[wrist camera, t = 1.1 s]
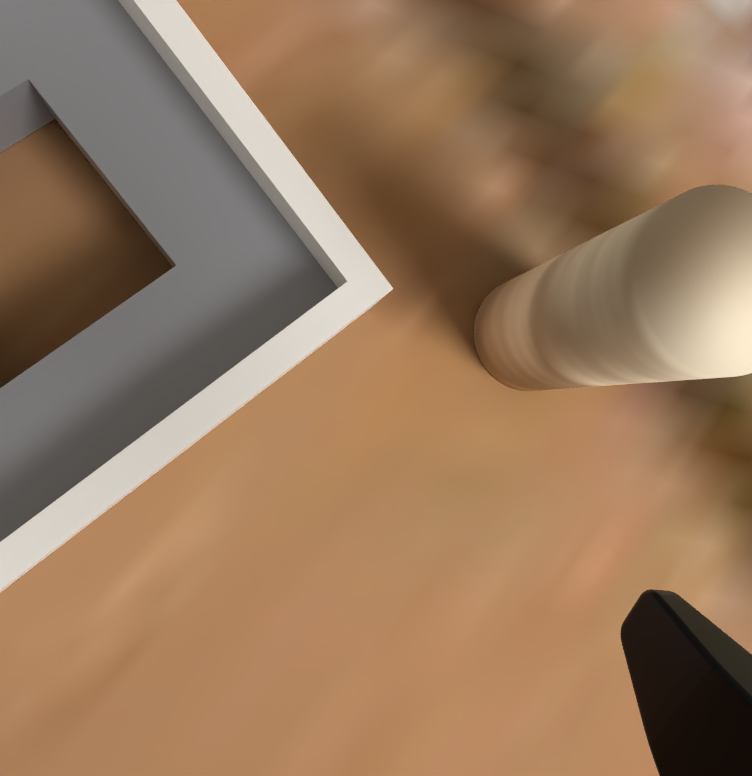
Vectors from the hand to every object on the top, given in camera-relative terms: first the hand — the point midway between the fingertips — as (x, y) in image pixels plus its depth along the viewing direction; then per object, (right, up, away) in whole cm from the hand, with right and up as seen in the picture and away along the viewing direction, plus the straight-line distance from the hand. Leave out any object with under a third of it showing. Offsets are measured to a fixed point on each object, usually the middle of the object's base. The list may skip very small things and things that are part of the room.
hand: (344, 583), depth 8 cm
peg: (+6, +5, +15) cm, 17 cm away
